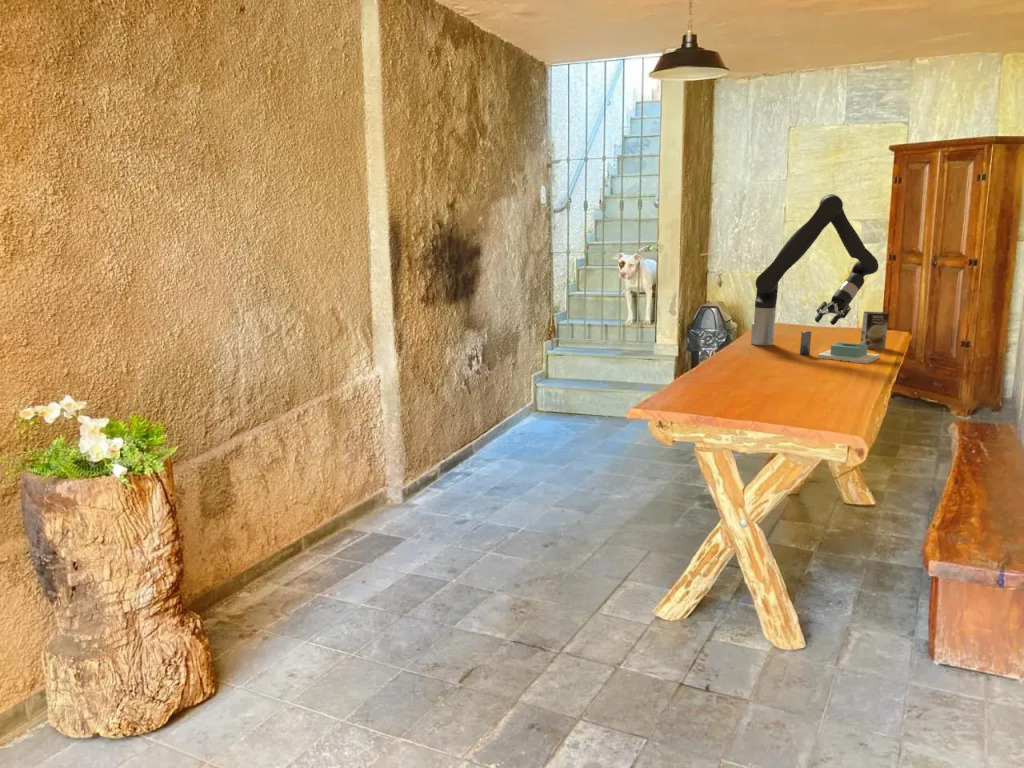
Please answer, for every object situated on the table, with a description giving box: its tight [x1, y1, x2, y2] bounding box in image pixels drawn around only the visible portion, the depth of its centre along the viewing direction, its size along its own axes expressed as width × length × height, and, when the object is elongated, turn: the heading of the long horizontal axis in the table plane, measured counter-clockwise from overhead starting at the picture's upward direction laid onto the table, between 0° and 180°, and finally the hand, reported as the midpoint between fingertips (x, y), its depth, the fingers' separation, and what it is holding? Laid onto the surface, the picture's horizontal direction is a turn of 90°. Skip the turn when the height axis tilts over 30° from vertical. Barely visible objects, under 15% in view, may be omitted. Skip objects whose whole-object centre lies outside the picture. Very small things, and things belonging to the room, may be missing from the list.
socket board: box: [817, 341, 880, 365], centre depth 337 cm, size 20×16×6 cm
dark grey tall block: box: [799, 330, 812, 357], centre depth 345 cm, size 4×4×10 cm
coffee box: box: [859, 311, 889, 350], centre depth 360 cm, size 9×6×16 cm
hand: (823, 322), depth 347 cm, fingers open, 8 cm apart
